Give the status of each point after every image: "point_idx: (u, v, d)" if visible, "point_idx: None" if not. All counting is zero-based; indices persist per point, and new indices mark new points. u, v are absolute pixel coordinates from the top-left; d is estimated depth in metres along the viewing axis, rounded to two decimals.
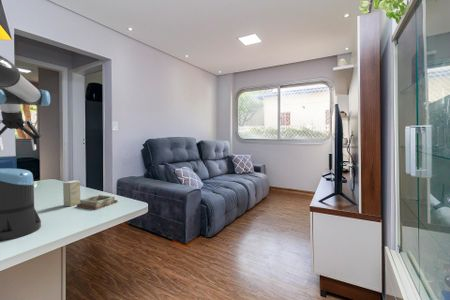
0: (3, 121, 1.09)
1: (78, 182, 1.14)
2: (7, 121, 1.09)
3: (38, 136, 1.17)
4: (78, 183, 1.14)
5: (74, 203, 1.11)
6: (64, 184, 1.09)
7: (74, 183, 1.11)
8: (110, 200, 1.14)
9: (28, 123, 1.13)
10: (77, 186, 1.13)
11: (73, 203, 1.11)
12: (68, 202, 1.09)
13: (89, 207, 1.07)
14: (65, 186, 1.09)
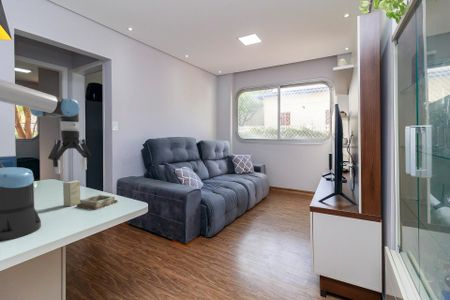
0: None
1: (78, 182, 1.14)
2: None
3: None
4: (78, 183, 1.14)
5: (74, 203, 1.11)
6: (64, 184, 1.09)
7: (74, 183, 1.11)
8: (110, 200, 1.14)
9: None
10: (77, 186, 1.13)
11: (73, 203, 1.11)
12: (68, 202, 1.09)
13: (89, 207, 1.07)
14: (65, 186, 1.09)
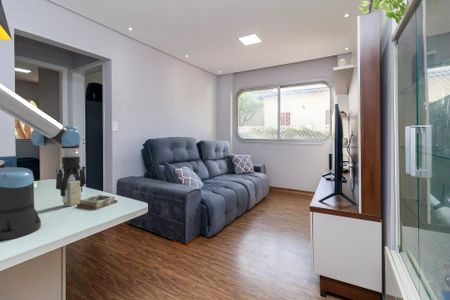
0: None
1: (78, 182, 1.14)
2: None
3: None
4: (78, 183, 1.14)
5: (74, 203, 1.11)
6: None
7: (74, 183, 1.11)
8: (110, 200, 1.14)
9: None
10: (77, 186, 1.13)
11: (73, 203, 1.11)
12: (68, 202, 1.09)
13: (89, 207, 1.07)
14: None
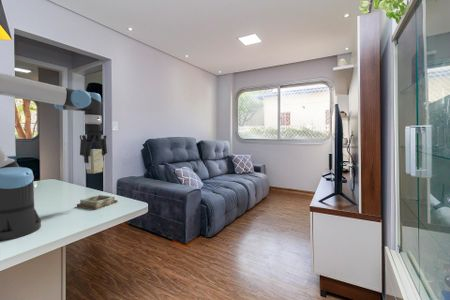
0: None
1: (100, 150, 1.13)
2: None
3: None
4: (100, 151, 1.13)
5: (97, 171, 1.11)
6: None
7: (96, 151, 1.11)
8: (110, 200, 1.14)
9: None
10: (99, 154, 1.13)
11: (96, 171, 1.11)
12: (91, 169, 1.09)
13: (89, 207, 1.07)
14: None
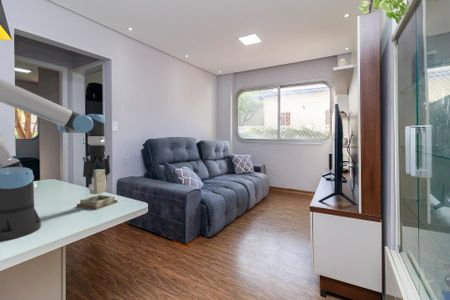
0: None
1: (103, 170, 1.14)
2: None
3: None
4: (103, 171, 1.14)
5: (100, 191, 1.12)
6: None
7: (100, 171, 1.12)
8: (110, 200, 1.14)
9: None
10: (102, 174, 1.13)
11: (99, 191, 1.12)
12: (94, 190, 1.10)
13: (89, 207, 1.07)
14: None
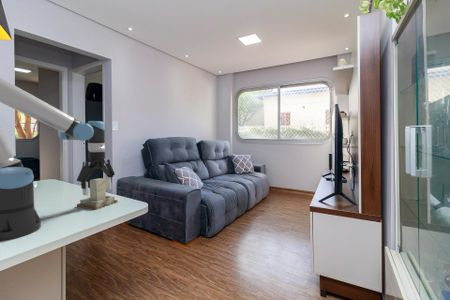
0: None
1: (104, 180, 1.14)
2: None
3: None
4: (104, 181, 1.14)
5: None
6: (91, 182, 1.10)
7: (100, 181, 1.12)
8: (110, 200, 1.14)
9: None
10: (103, 184, 1.14)
11: None
12: (94, 199, 1.10)
13: (89, 207, 1.07)
14: (92, 184, 1.10)
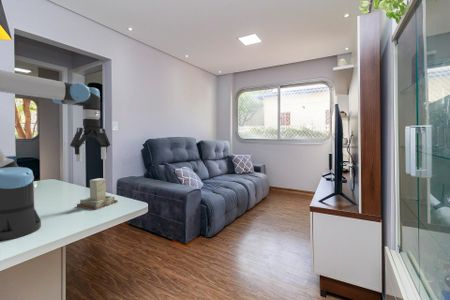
0: None
1: (104, 180, 1.14)
2: None
3: None
4: (104, 181, 1.14)
5: None
6: (91, 182, 1.10)
7: (100, 181, 1.12)
8: (110, 200, 1.14)
9: None
10: (103, 184, 1.14)
11: None
12: (94, 199, 1.10)
13: (89, 207, 1.07)
14: (92, 184, 1.10)
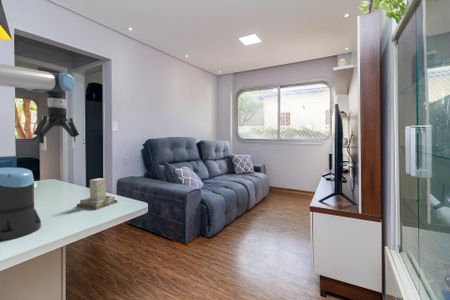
0: None
1: (104, 180, 1.14)
2: None
3: None
4: (104, 181, 1.14)
5: None
6: (91, 182, 1.10)
7: (100, 181, 1.12)
8: (110, 200, 1.14)
9: None
10: (103, 184, 1.14)
11: None
12: (94, 199, 1.10)
13: (89, 207, 1.07)
14: (92, 184, 1.10)
